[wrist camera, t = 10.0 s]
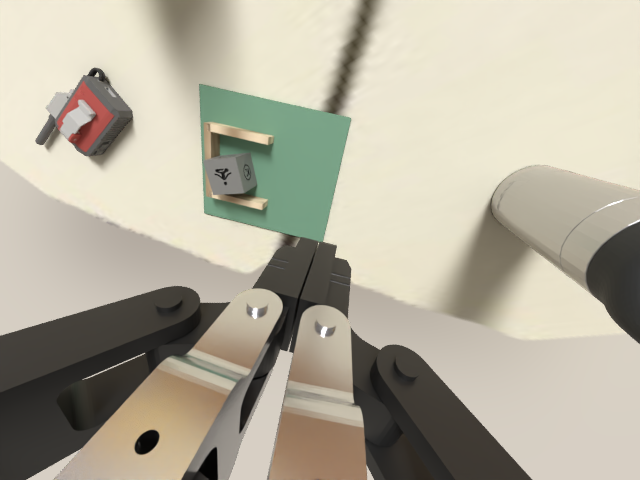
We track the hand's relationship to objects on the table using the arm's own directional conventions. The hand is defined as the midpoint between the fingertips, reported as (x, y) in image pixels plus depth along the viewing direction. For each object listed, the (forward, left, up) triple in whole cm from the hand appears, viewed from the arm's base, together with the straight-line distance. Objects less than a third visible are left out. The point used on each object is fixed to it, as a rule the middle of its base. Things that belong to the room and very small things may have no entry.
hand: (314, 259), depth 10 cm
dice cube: (+17, +6, -29) cm, 34 cm away
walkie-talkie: (+43, +4, -30) cm, 53 cm away
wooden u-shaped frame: (+16, +5, -29) cm, 33 cm away
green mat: (+12, +5, -29) cm, 32 cm away
